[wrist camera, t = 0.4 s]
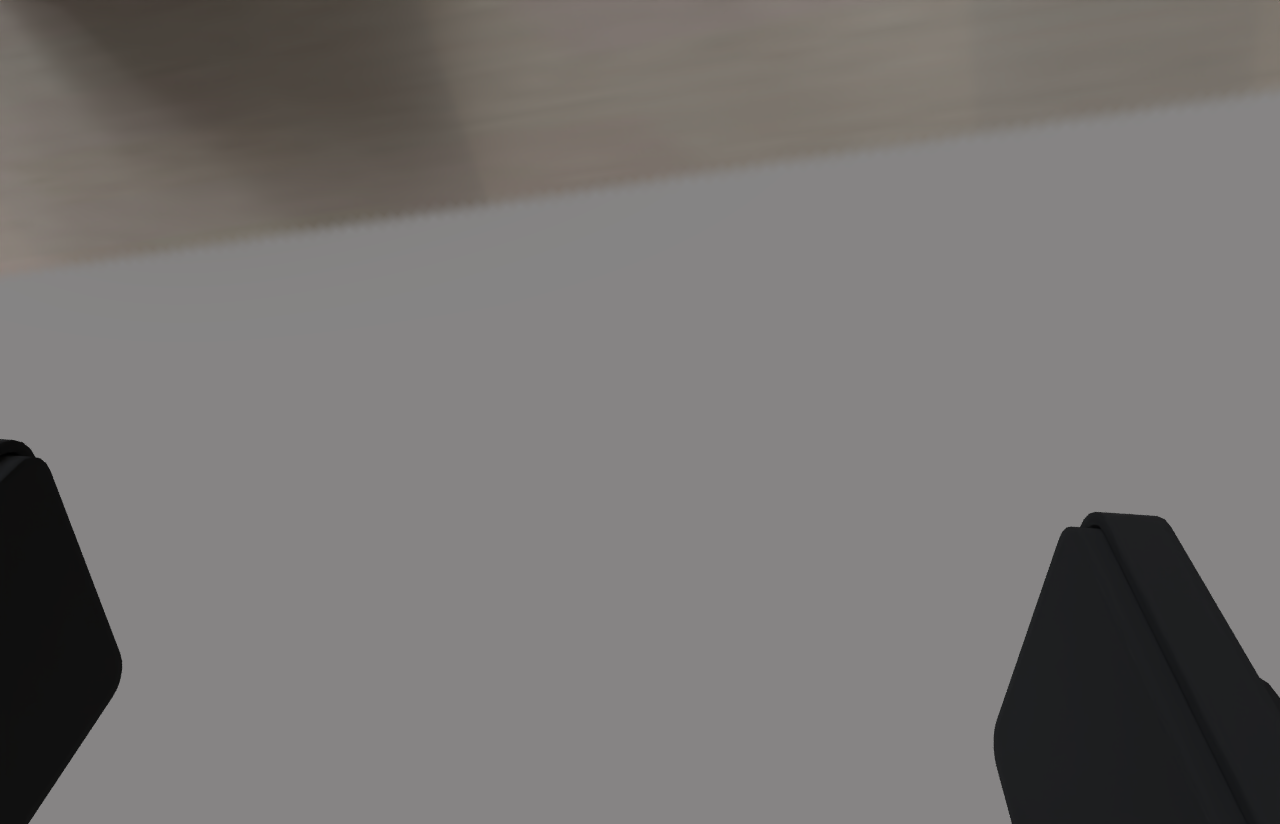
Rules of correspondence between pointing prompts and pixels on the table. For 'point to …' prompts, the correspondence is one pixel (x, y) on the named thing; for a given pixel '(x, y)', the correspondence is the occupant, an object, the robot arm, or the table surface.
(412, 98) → the table surface
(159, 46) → the table surface
